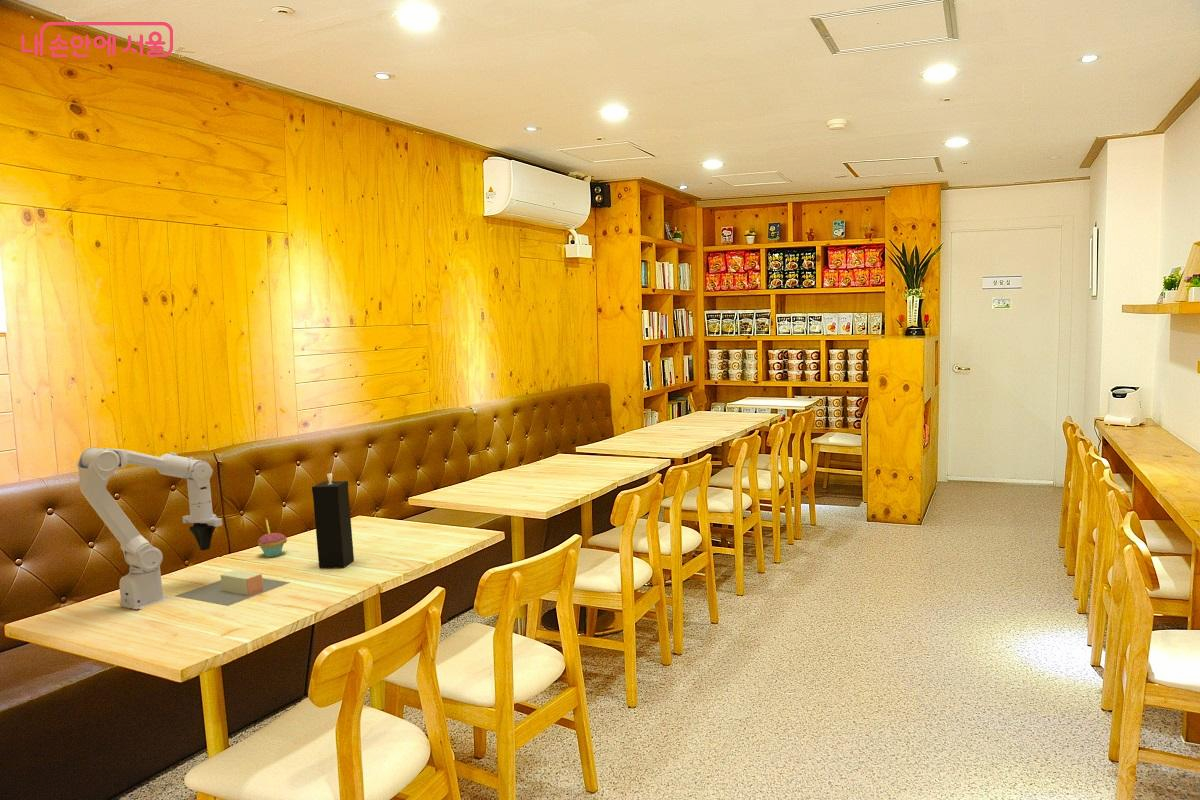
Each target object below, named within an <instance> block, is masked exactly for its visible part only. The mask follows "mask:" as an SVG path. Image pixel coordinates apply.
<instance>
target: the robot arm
mask: <svg viewBox="0 0 1200 800" xmlns="http://www.w3.org/2000/svg"><path fill="white" fill-rule="evenodd" d="M128 465H135V466H141V467H147V468H153V469H156V470H157V471H158V473H159V474H160V475H165V476H169V477H174V478H181V479H186V485H187V486H186V487H187V494H188V495H187V497H188V505H189V506H188V507H189V514H187V515H183V516H182V523H183V524H193V525H192V526H189V531H190V532H191V533H192V534H193V536H194V538H195V540H196V542H197V545H198V548H199V549H200V551H207V550H210V549H211V544H212V538H213V534H214V532H215V530H216V528H218V527H222V526H223V518H220V517H217V514H215V513H214V512H213V501H212V490H211V482H210V479H211V477H212V475H213V471H214V469H213V468H212V466H211V465H210V463H209V462H207V461H205V460H200V459H194V457H193V456H188V457H185V456H180V455H178V454H177V453H175V452H171V451H170V452H169V453H164V454H163V455H162V454H161V456H156V455H155V456H154V455H151V454H146V453H143V452H138V451H133V450H129V449H122V448H121V449H120V448H108V447H106V448H100V447H97V446H92V447H87V448H85V450H83V452H81V454H80V456H79V458H78V462H77V463H76V467H77V470H78V478H79V479H78V481H79V491H80V493H81V495H83V497H84V498H85V500H86V501H87V502H88V503H89V505H90V506H91V507H92V509H93V510H94V511H95V512H96V514H97V515H98V516H99V518H100V519H101V520H102V521H103V523H104V524H105V526H106V527H107V528H108V530H109V531H110V532H111V533H112V535H113V537H115V539H116V540H117V541H118V542H119V544H120V549H121V551H122V552H123V556H124V557H123V558H124V561H125V563H126V564H127V565H129V568H128V569H129V570H128V571H129V572H128V573H127V574H126V575H123V576H122V577H121V578H120V579H119V583H118V584H119V594H120V604H119V607H121V606H122V607H121V608H126V607H127V609H130V608H132V610H135V609H136V611H138V610H137V609H139V610H141V609H142V608H143V607H146V606H150V605H153V604H155V603H159V602H161V601H164V600H167V599H170V598H171V596H167V595H164V592H163V585H162V584H163V583H162V575H161V573H162V571H161V564H162V562H163V558H164V555H163V552H162V551H161V550H160V549H159V548H157V547H156V546H153V545H152V544H151V542H150V541H148V539H147V538H145V537H144V536H143V535H142V534H141V533H140V532H139V530H138V529H137V528H136V527H135V525H134V524H133V522H132V521H131V520H130V518H129V517H128V516H127V515H126V513H125V512H124V511H123V509H122V508H121V506H120V505H119V504H118V503H117V501H116V500H115V498H114V497H113V496H112V494H111V493H110V492H109V491H108V489H107V486H108V482H109V480H110V479H111V477H112V476H113V475H114V473H115V472H116V471H117V469H118V468H124V467H125V466H128ZM140 608H141V609H140Z"/></svg>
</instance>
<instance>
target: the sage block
mask: <svg viewBox="0 0 1200 800" xmlns="http://www.w3.org/2000/svg"><path fill="white" fill-rule="evenodd" d="M262 578H263V575H262V574H261V573H255V572H248V571H242V570H235V569H234V570H232V571H228V572H226V573H221V574H220V580H221V584H222V591H226V592H231V593H237V594H243V595H252V594H255V593H257V592H260V591H263V584H262Z"/></svg>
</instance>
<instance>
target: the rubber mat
mask: <svg viewBox="0 0 1200 800" xmlns="http://www.w3.org/2000/svg"><path fill="white" fill-rule="evenodd" d="M262 584H263V591H260V592H257V593H255V594H252V595H243V594H237V593H231V592H226V591H222V584H221V579H220V580H217V581H215V582H211V583H208V584H206V585H202V586H199V587H197V588H194V589H190V590H188V591H184V592H181V593H179V594H177V595H175V597H178V598H183V599H189V600H194V601H199V602H200V601H201V602H205V603H210V604H216V605H221V606H226V607H229V606H232V605H234V604H237V603H239V602H242V601H245V600H247V599H251V598H253V597H256V596H259V595H261V594H263V593H267V592H269V591H272V590H275V589H278V588H280V587H282V586H285V585H288V584H291V582H290V581H284V580H277V579H270V578H264V577H262Z"/></svg>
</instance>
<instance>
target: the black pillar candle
mask: <svg viewBox="0 0 1200 800" xmlns="http://www.w3.org/2000/svg"><path fill="white" fill-rule="evenodd" d="M326 476H327V481H322V482H320V483H318V484H316V485H313V486H312V487H311V492H312V500H313V512H314V523H315V534H316V536H315V537H316V546H317V559H318V568H319V569H323V568H324V569H344V568H346V567H347V566H348V565H349V564H351V563H352V562H354V561H355V555H354V554H355V553H354V544H353V543H354V542H353V532H352V530H353V529H352V521H351V520H352V518H351V508H350V507H351V506H350V505H351V504H350V495H349V480H336V481H333V473H332V472H330V473H326Z"/></svg>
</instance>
